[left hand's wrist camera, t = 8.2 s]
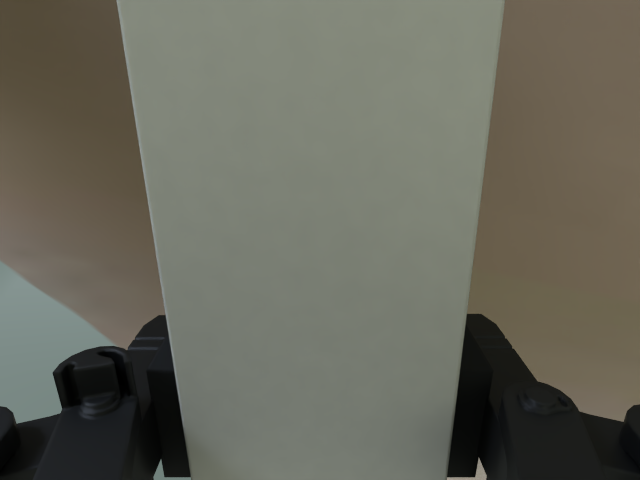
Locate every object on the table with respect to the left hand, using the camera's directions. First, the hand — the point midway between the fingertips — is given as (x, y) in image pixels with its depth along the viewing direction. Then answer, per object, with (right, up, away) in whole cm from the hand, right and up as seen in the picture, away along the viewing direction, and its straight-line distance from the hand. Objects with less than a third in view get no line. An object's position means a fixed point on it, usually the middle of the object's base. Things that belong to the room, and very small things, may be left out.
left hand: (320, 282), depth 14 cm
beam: (0, +24, -8) cm, 26 cm away
